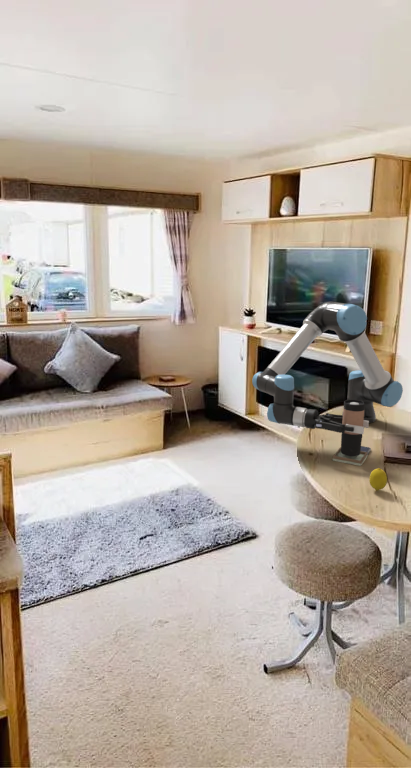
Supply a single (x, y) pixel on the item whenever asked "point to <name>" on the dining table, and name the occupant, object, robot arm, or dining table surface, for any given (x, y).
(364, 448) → the ink pad
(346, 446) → the travel mug
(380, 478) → the lemon
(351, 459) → the box
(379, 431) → the dining table surface
